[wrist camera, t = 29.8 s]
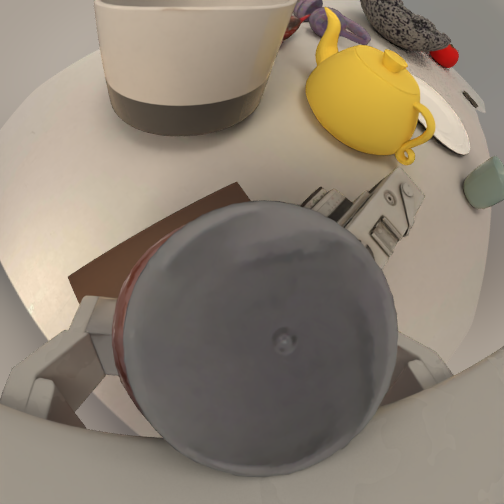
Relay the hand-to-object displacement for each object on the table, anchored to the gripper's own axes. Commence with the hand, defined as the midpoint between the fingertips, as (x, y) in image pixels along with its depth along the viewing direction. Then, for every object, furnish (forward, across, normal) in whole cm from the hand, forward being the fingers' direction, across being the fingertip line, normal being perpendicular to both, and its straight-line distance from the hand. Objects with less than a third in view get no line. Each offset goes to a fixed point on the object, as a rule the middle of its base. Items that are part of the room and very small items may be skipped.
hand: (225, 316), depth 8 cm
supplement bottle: (+4, 0, +5) cm, 6 cm away
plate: (+40, -48, -18) cm, 65 cm away
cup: (+25, -49, -2) cm, 55 cm away
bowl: (+68, -53, -45) cm, 97 cm away
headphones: (+57, -27, -34) cm, 72 cm away
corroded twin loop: (+58, -87, -36) cm, 111 cm away
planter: (+32, +3, -8) cm, 33 cm away
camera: (+18, -12, +6) cm, 22 cm away
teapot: (+33, -21, -10) cm, 41 cm away
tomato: (+72, -81, -49) cm, 119 cm away
